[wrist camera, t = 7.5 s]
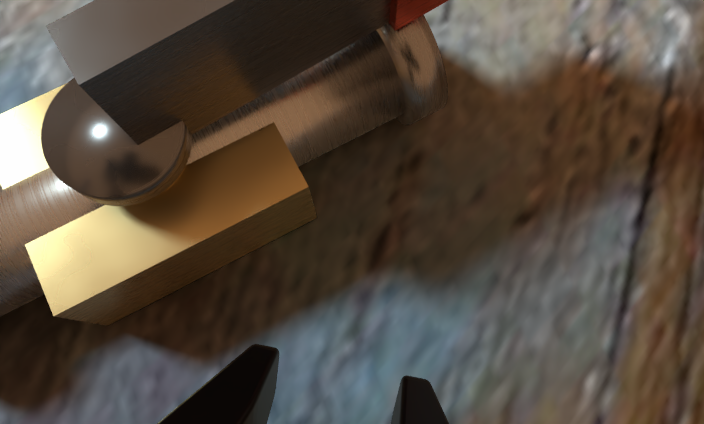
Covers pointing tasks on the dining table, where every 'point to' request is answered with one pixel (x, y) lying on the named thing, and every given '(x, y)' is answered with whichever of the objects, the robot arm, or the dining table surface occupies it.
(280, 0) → the lever
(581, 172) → the dining table surface
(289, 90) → the valve body
